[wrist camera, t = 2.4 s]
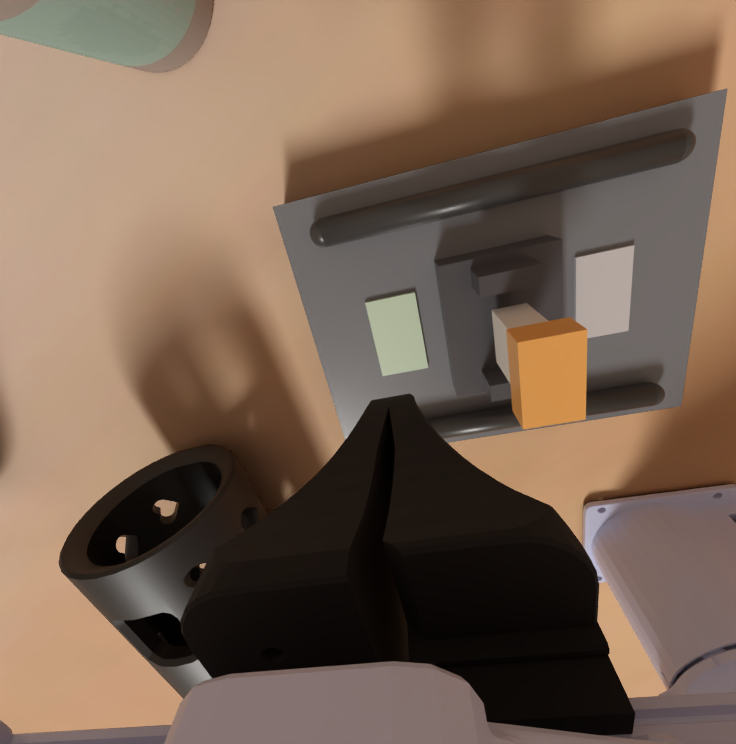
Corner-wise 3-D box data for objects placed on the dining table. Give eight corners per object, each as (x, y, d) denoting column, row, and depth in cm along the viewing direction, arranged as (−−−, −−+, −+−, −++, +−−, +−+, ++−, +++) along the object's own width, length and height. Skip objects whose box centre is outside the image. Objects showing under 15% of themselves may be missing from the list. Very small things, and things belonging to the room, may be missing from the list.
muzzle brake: (266, 419, 24) (189, 565, 15) (385, 661, 35) (385, 829, 26) (139, 450, 26) (-2, 599, 16) (292, 672, 37) (260, 834, 28)
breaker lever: (534, 291, 15) (587, 329, 11) (536, 362, 16) (585, 419, 12) (483, 302, 15) (517, 342, 11) (490, 371, 17) (523, 429, 13)
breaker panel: (688, 99, 16) (812, 63, 11) (656, 388, 22) (729, 441, 17) (284, 205, 18) (249, 210, 14) (353, 437, 24) (345, 496, 20)
